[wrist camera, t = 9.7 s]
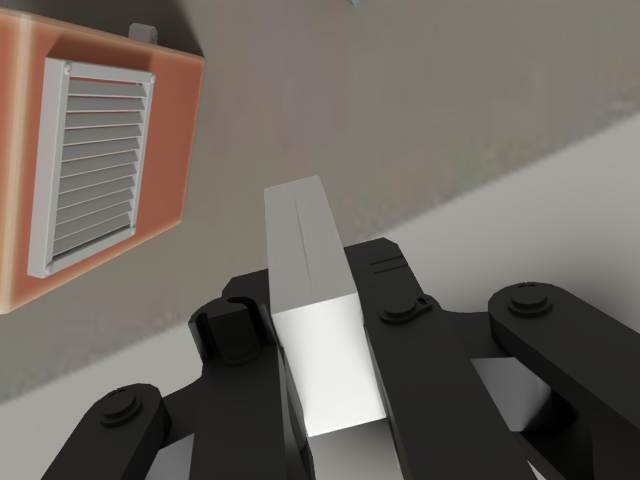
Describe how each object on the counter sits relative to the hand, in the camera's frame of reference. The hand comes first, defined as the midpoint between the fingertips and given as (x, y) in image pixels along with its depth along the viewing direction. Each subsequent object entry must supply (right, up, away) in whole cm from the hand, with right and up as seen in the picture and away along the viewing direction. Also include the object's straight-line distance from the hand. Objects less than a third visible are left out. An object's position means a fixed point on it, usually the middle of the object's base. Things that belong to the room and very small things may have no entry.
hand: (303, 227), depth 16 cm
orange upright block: (-11, +7, +29) cm, 32 cm away
